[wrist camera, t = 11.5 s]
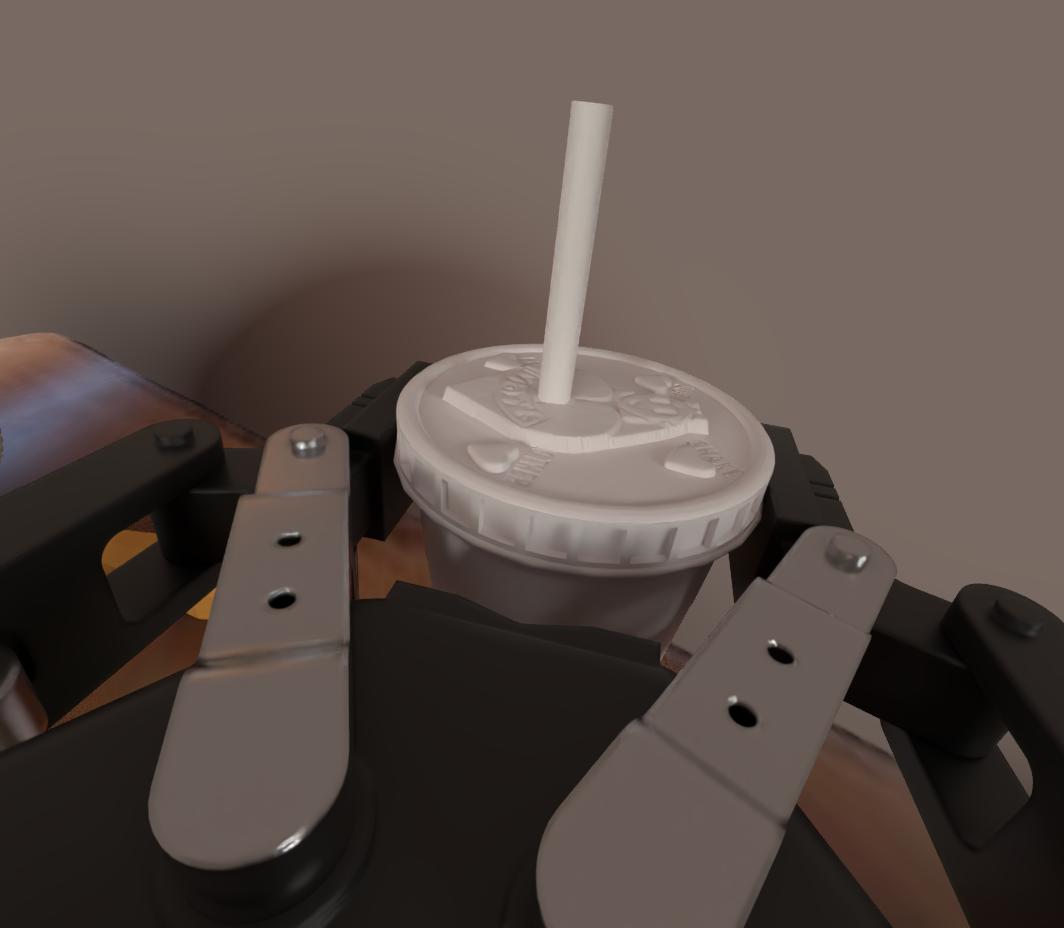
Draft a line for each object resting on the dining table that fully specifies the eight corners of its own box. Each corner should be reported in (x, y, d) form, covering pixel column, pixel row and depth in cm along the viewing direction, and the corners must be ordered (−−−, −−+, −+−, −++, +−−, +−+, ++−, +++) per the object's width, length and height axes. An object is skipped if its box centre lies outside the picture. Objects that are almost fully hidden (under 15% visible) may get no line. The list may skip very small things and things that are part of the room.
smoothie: (424, 639, 17) (429, 88, 10) (634, 654, 18) (783, 130, 10) (373, 881, 12) (302, 57, 5) (678, 898, 12) (1059, 149, 5)
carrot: (281, 613, 33) (286, 538, 33) (219, 645, 29) (223, 559, 28) (32, 546, 39) (32, 480, 38) (-52, 564, 34) (-54, 490, 34)
